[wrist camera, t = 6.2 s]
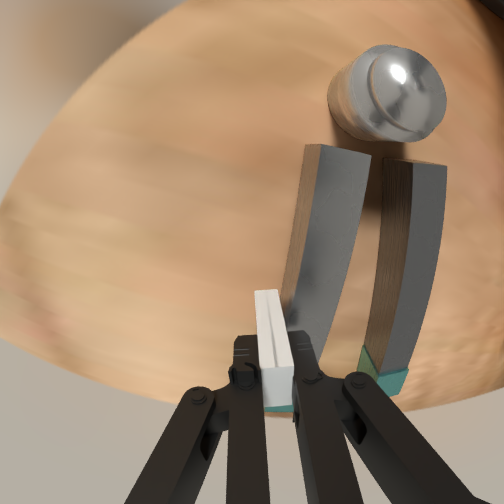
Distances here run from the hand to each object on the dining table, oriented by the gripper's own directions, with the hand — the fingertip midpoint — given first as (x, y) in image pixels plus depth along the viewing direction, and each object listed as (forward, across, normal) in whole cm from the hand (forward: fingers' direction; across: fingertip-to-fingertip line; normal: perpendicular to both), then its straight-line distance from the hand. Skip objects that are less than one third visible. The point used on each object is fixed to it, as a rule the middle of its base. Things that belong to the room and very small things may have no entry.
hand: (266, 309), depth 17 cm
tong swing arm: (+1, +4, +3) cm, 6 cm away
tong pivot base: (+2, +7, +3) cm, 8 cm away
